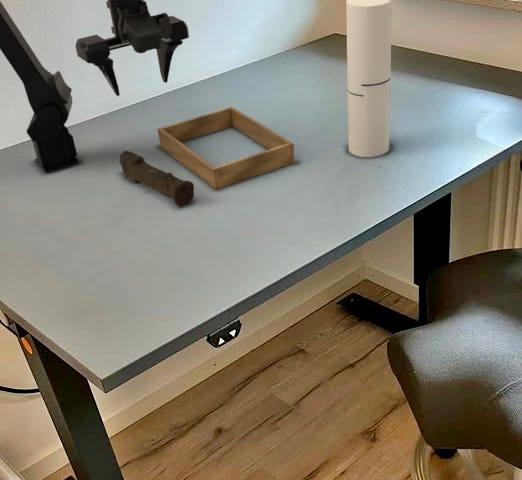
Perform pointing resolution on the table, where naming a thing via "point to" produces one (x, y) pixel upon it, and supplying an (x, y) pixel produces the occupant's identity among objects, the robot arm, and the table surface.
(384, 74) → the cylindrical container
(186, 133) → the wooden rectangular frame
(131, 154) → the dark brown long piece
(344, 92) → the table surface
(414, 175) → the table surface
